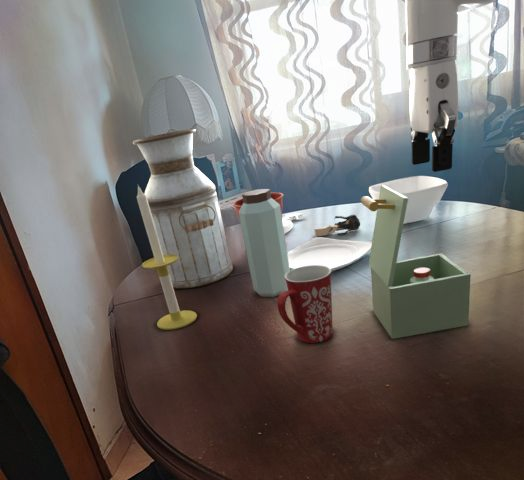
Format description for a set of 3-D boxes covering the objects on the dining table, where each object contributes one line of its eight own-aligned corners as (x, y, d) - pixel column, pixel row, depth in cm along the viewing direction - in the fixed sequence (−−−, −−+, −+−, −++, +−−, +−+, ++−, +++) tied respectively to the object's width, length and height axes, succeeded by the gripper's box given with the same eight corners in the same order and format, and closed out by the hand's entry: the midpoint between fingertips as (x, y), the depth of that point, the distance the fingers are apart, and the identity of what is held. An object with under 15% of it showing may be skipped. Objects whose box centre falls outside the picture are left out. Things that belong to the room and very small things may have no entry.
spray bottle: (255, 238, 167) (282, 219, 186) (283, 237, 162) (308, 218, 181) (254, 230, 166) (281, 212, 184) (282, 228, 161) (307, 210, 179)
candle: (188, 307, 120) (153, 177, 104) (203, 319, 111) (166, 180, 96) (152, 321, 116) (110, 188, 101) (164, 334, 108) (120, 191, 93)
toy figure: (318, 241, 151) (363, 230, 151) (315, 222, 149) (360, 211, 149) (315, 238, 158) (358, 228, 158) (311, 220, 156) (355, 209, 155)
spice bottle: (431, 308, 95) (431, 264, 90) (435, 317, 91) (436, 272, 86) (409, 310, 95) (408, 267, 91) (412, 319, 92) (411, 275, 87)
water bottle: (293, 294, 115) (278, 192, 103) (254, 301, 116) (234, 200, 104) (291, 280, 124) (276, 184, 112) (254, 286, 125) (236, 191, 113)
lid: (384, 185, 87) (357, 184, 87) (408, 198, 76) (377, 197, 75) (372, 264, 94) (347, 263, 94) (392, 286, 83) (363, 286, 83)
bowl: (363, 221, 163) (361, 187, 157) (422, 207, 164) (422, 173, 159) (389, 235, 143) (388, 197, 138) (456, 220, 145) (457, 182, 140)
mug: (315, 320, 100) (308, 261, 94) (346, 331, 94) (340, 268, 87) (271, 344, 94) (260, 283, 88) (301, 357, 88) (291, 292, 81)
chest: (440, 299, 99) (441, 253, 94) (468, 325, 88) (470, 274, 83) (373, 311, 100) (370, 266, 95) (392, 339, 88) (389, 289, 83)
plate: (264, 270, 135) (262, 261, 134) (316, 243, 149) (315, 235, 148) (331, 281, 119) (330, 271, 118) (383, 250, 133) (382, 241, 131)
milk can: (247, 272, 136) (218, 125, 117) (180, 296, 128) (138, 142, 109) (214, 257, 155) (184, 128, 136) (154, 276, 148) (114, 143, 129)
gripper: (480, 43, 66) (474, 169, 74) (433, 54, 81) (433, 157, 90) (428, 54, 66) (428, 177, 75) (391, 62, 82) (394, 164, 90)
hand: (430, 166), depth 82 cm, fingers open, 9 cm apart
